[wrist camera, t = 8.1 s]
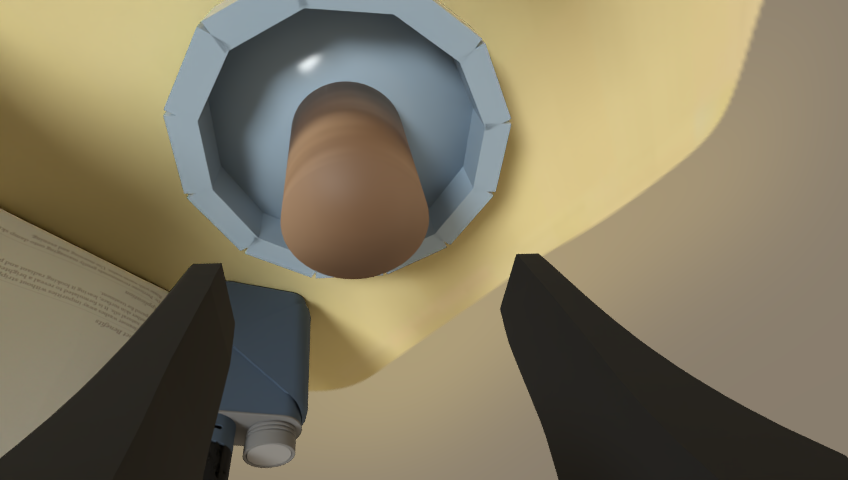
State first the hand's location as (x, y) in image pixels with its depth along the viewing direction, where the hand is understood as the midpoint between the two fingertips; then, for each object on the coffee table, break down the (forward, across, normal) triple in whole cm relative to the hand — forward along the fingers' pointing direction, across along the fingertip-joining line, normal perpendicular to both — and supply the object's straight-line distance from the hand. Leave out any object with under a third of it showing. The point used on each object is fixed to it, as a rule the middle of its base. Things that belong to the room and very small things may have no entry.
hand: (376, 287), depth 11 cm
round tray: (+9, 0, 0) cm, 9 cm away
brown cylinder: (+9, 0, 0) cm, 9 cm away
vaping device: (+10, +5, +10) cm, 15 cm away
